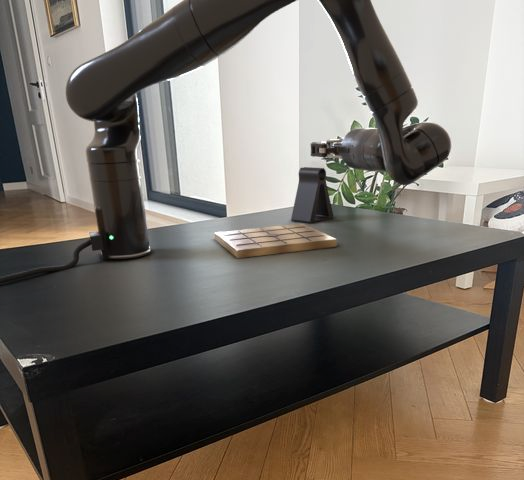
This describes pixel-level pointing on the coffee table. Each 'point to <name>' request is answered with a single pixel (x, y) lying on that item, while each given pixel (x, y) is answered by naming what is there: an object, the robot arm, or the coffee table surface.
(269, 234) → the board
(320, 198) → the phone stand
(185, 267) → the coffee table surface
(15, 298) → the coffee table surface
